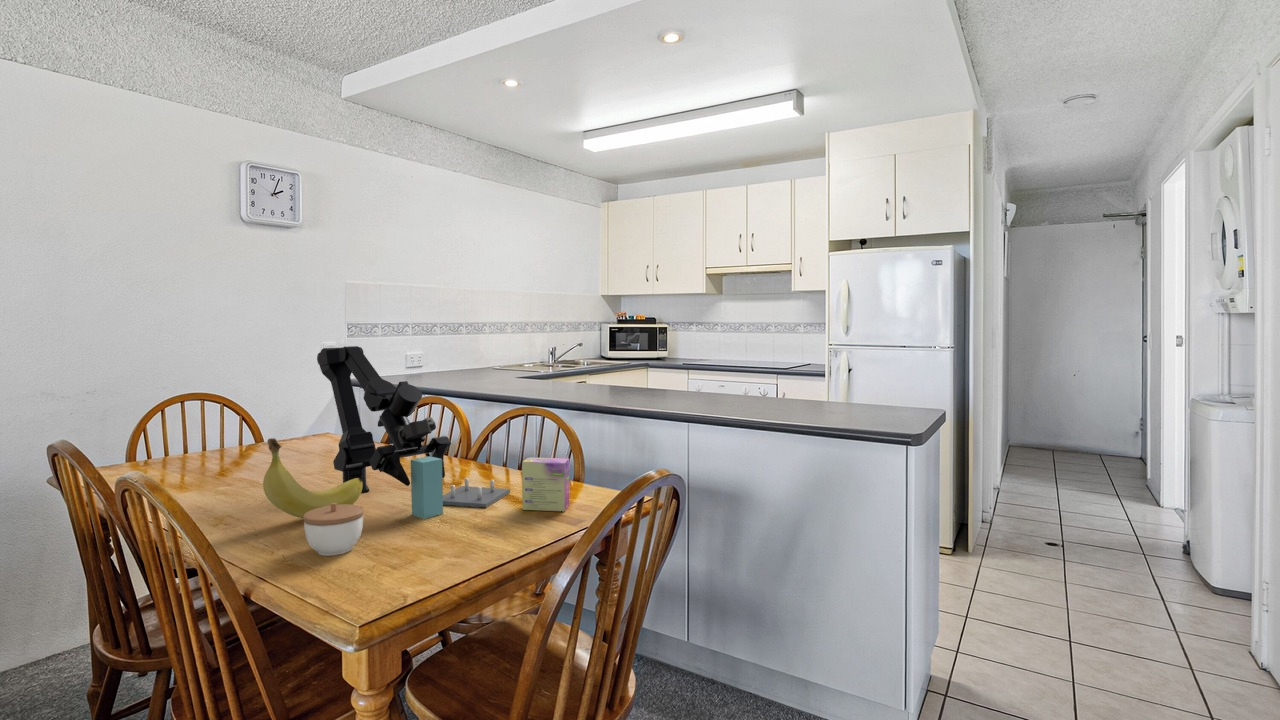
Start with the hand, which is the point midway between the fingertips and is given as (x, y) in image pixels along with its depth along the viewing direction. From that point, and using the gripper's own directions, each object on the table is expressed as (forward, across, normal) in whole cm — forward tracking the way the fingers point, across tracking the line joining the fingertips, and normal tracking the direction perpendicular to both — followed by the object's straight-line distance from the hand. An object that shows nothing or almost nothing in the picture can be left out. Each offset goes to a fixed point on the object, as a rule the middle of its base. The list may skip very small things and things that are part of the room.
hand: (426, 480), depth 151 cm
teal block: (+6, 0, +6) cm, 8 cm away
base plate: (+4, +15, +8) cm, 17 cm away
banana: (-6, -17, +18) cm, 26 cm away
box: (+18, +21, -7) cm, 29 cm away
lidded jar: (+10, -25, +1) cm, 27 cm away
